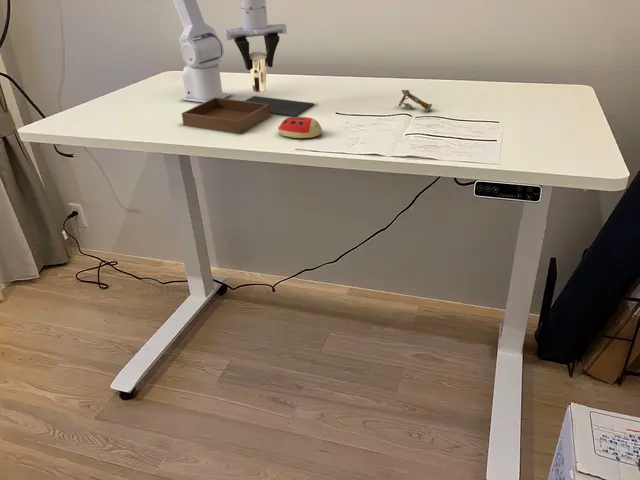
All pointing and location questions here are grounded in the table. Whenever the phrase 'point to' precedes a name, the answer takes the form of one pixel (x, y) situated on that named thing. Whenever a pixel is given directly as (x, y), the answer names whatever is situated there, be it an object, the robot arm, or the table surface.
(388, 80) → the table surface
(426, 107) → the wooden post with brackets
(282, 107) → the mouse pad
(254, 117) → the tray
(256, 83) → the milkshake
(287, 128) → the ladybug figurine
